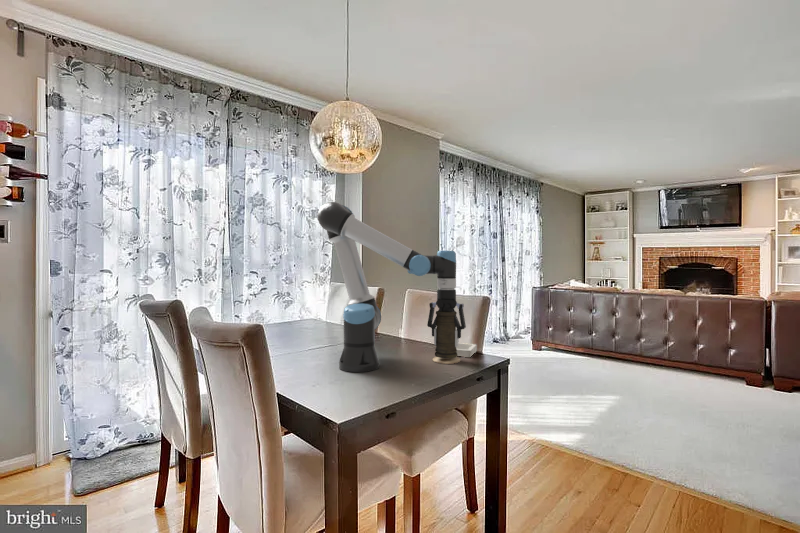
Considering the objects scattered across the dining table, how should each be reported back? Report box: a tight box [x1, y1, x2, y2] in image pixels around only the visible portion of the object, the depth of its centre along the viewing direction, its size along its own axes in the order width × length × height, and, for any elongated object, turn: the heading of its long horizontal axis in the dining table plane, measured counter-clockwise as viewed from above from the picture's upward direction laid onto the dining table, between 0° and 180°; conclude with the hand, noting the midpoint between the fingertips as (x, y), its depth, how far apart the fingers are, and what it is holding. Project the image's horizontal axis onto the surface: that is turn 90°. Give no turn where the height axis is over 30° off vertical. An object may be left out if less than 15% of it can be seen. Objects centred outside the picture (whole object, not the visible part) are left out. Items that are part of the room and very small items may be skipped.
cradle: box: [456, 342, 478, 358], centre depth 182 cm, size 11×14×3 cm
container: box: [434, 310, 458, 358], centre depth 169 cm, size 9×9×18 cm
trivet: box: [432, 356, 461, 365], centre depth 169 cm, size 11×11×1 cm
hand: (446, 345), depth 169 cm, fingers closed on container, 8 cm apart
